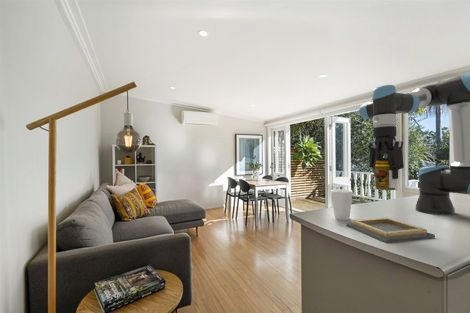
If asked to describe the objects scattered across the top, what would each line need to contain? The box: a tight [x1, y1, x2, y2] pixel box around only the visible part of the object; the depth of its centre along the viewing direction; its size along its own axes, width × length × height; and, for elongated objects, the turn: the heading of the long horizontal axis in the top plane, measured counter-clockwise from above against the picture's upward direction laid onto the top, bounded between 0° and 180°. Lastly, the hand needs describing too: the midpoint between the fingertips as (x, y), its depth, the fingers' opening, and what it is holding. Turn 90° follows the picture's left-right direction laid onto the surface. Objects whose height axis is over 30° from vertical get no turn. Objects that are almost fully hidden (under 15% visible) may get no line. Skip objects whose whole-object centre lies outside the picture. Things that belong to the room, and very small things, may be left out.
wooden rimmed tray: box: [345, 217, 436, 244], centre depth 89 cm, size 20×20×2 cm
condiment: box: [372, 157, 398, 191], centre depth 90 cm, size 7×8×12 cm
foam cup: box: [330, 188, 354, 221], centre depth 109 cm, size 10×9×13 cm
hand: (385, 186), depth 89 cm, fingers closed on condiment, 6 cm apart
